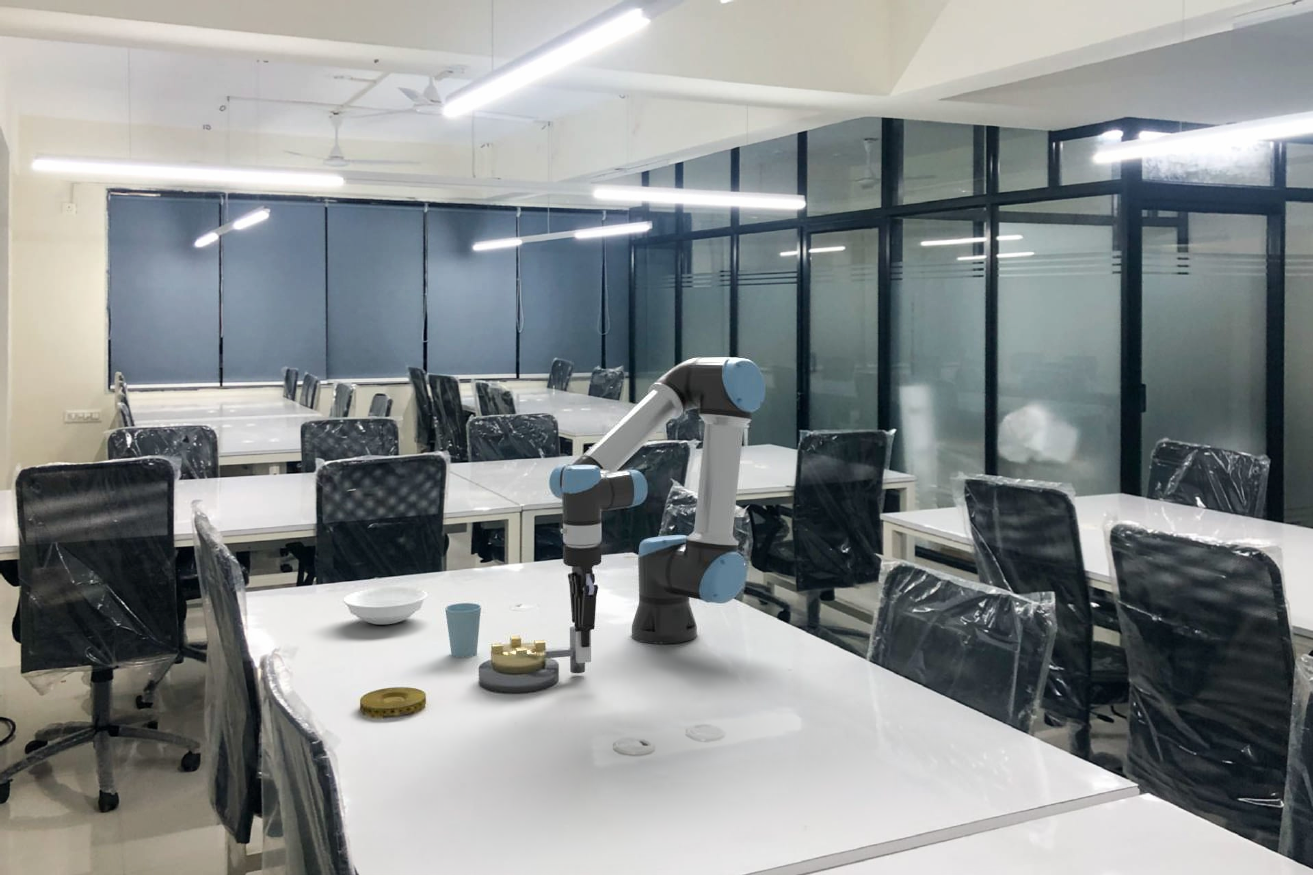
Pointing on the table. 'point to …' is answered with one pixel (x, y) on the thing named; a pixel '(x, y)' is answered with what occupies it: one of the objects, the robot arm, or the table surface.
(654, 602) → the robot arm
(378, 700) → the gold gear disc
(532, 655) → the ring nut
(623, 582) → the table surface
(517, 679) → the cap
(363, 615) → the bowl
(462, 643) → the cup
